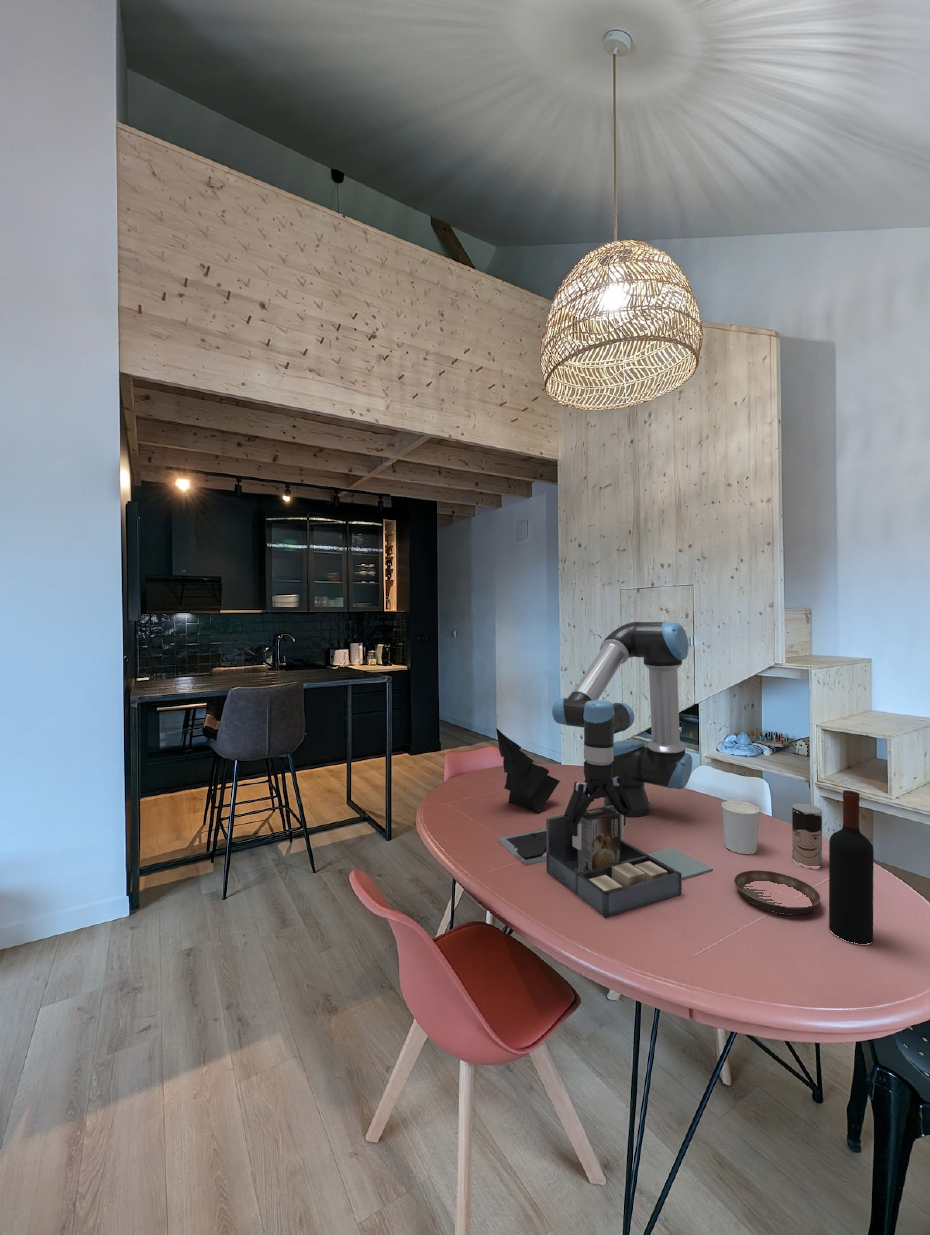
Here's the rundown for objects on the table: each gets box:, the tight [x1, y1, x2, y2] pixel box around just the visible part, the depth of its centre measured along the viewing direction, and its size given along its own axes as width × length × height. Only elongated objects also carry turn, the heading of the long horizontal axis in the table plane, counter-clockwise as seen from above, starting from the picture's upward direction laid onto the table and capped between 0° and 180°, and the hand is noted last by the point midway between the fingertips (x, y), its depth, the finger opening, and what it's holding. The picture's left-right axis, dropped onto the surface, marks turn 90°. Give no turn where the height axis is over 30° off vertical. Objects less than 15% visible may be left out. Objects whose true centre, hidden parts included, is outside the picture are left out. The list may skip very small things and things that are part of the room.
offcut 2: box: [634, 861, 667, 881], centre depth 132 cm, size 5×6×5 cm
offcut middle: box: [612, 863, 645, 888], centre depth 129 cm, size 5×6×6 cm
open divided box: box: [545, 805, 683, 919], centre depth 135 cm, size 23×24×14 cm
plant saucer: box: [733, 869, 821, 916], centre depth 127 cm, size 18×18×3 cm
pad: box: [646, 846, 714, 881], centre depth 144 cm, size 14×14×1 cm
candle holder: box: [721, 800, 761, 854], centre depth 154 cm, size 10×10×12 cm
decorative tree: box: [495, 727, 561, 815], centre depth 185 cm, size 15×15×35 cm
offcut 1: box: [589, 875, 622, 892], centre depth 126 cm, size 5×6×4 cm
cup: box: [791, 803, 823, 866], centre depth 144 cm, size 7×7×15 cm
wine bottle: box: [828, 789, 874, 944], centre depth 113 cm, size 8×8×30 cm
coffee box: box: [577, 806, 621, 873], centre depth 139 cm, size 9×6×16 cm
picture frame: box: [498, 828, 547, 866], centre depth 156 cm, size 16×3×21 cm
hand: (598, 843), depth 139 cm, fingers open, 13 cm apart
